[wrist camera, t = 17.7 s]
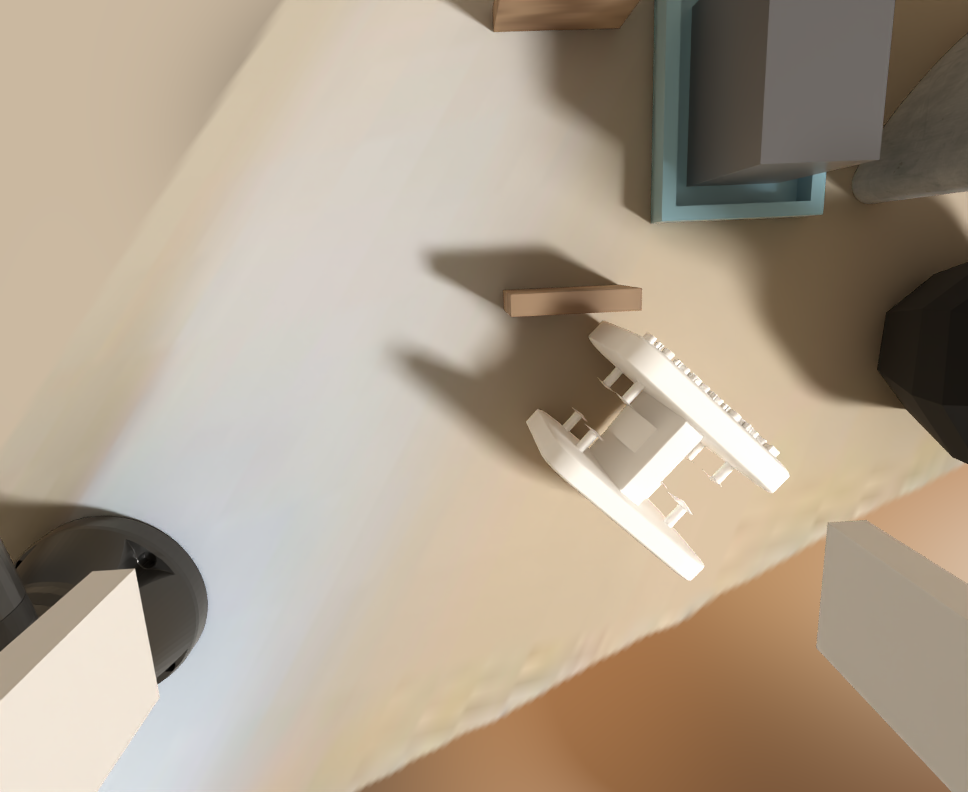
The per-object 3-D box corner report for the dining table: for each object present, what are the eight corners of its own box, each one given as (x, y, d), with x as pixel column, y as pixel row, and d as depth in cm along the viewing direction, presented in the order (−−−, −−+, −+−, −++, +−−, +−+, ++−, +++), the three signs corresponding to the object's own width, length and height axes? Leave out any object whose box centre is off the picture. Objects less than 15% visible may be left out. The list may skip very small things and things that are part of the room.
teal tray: (650, 223, 46) (661, 221, 44) (655, -29, 42) (667, -46, 40) (803, 216, 46) (822, 214, 44) (821, -33, 43) (844, -50, 40)
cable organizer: (512, 410, 49) (531, 456, 37) (601, 311, 47) (648, 327, 36) (642, 519, 52) (696, 593, 40) (730, 429, 50) (811, 479, 39)
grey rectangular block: (686, 186, 45) (760, 164, 34) (692, 7, 42) (774, -79, 31) (777, 183, 45) (879, 159, 34) (789, 4, 42) (903, -81, 32)
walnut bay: (503, 309, 47) (511, 316, 41) (492, 8, 42) (499, -33, 36) (617, 304, 47) (641, 310, 41) (619, 4, 42) (646, -36, 37)
